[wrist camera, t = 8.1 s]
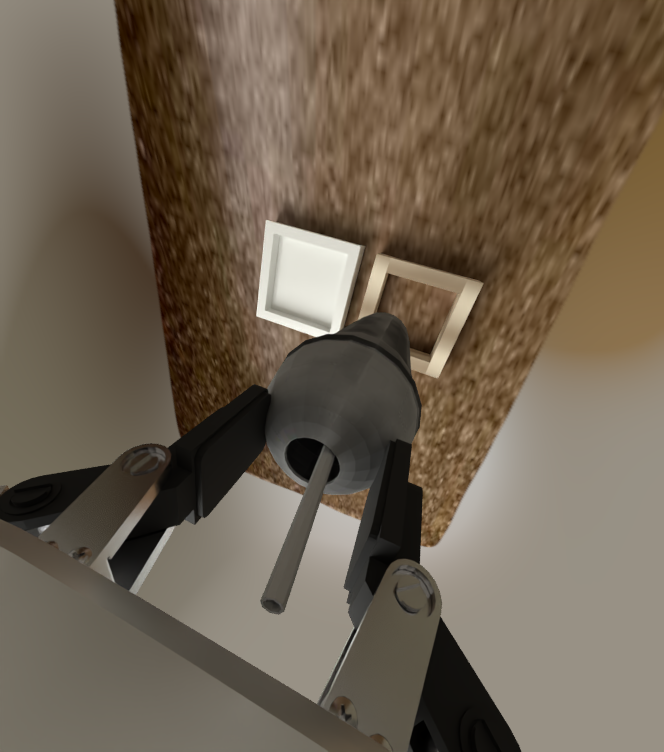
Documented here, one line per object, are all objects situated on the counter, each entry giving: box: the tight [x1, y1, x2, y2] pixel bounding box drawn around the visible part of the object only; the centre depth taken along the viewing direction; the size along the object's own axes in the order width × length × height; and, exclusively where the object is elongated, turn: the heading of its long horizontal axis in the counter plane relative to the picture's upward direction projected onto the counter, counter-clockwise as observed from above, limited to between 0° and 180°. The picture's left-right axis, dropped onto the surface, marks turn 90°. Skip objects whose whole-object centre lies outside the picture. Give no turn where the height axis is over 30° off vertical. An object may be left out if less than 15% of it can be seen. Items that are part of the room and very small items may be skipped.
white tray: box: [256, 220, 365, 337], centre depth 36 cm, size 12×12×2 cm
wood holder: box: [358, 254, 484, 378], centre depth 33 cm, size 12×12×3 cm
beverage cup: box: [261, 312, 422, 614], centre depth 15 cm, size 7×7×20 cm
